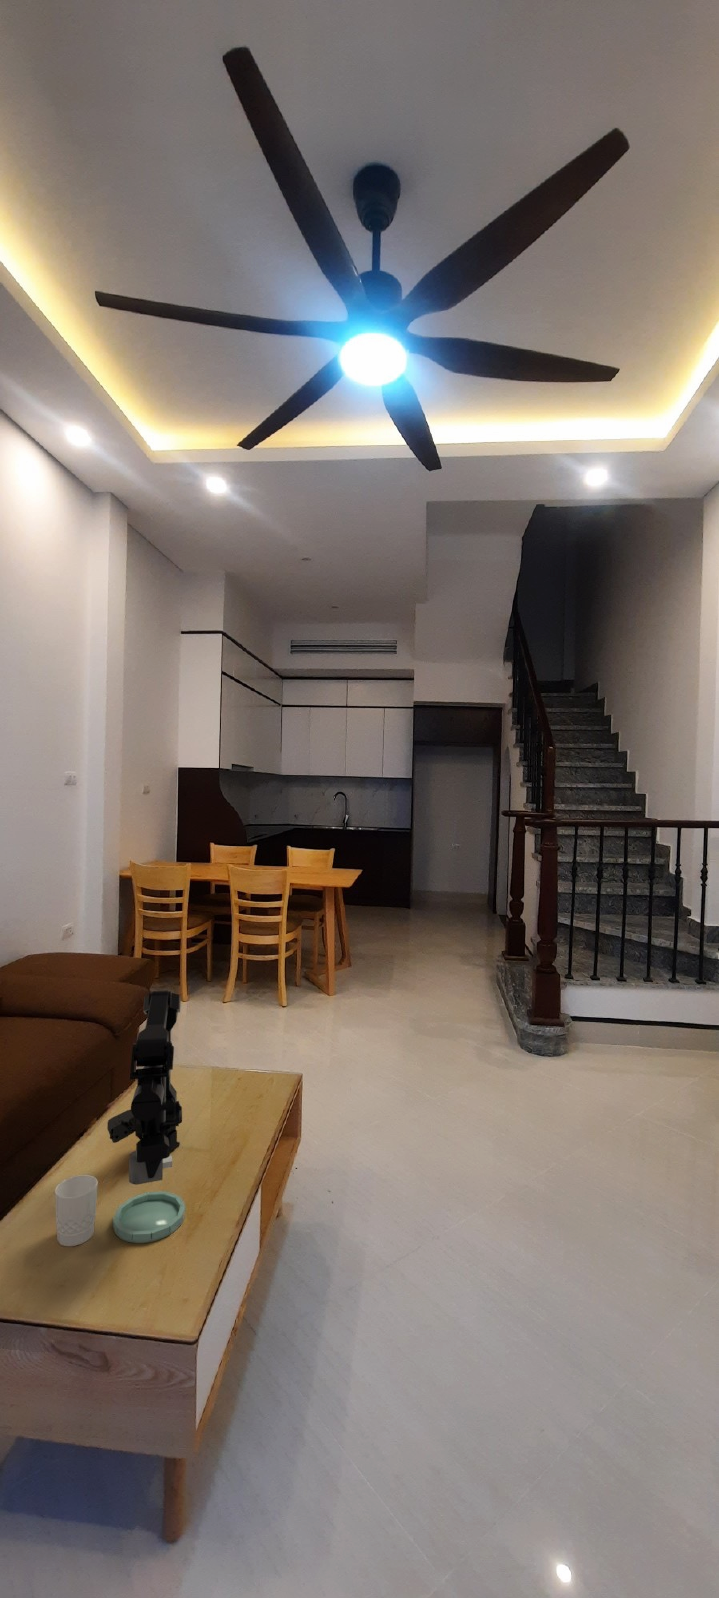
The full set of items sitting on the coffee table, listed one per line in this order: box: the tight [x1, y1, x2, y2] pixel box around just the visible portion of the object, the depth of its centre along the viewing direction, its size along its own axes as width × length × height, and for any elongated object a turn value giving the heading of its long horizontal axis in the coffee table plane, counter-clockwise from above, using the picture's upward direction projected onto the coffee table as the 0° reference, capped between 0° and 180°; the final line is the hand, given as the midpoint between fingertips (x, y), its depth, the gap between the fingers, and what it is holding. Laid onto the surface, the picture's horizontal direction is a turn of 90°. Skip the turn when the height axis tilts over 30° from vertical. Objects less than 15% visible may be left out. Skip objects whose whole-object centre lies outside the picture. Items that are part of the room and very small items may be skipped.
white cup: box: [54, 1174, 99, 1247], centre depth 131 cm, size 8×8×10 cm
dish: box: [112, 1190, 186, 1244], centre depth 136 cm, size 14×14×2 cm
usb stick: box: [128, 1150, 173, 1186], centre depth 136 cm, size 8×4×5 cm, turn 111°
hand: (150, 1172), depth 136 cm, fingers closed on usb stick, 4 cm apart
